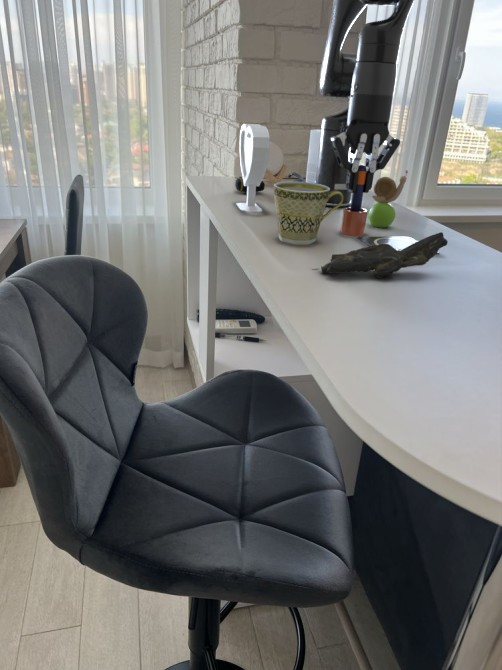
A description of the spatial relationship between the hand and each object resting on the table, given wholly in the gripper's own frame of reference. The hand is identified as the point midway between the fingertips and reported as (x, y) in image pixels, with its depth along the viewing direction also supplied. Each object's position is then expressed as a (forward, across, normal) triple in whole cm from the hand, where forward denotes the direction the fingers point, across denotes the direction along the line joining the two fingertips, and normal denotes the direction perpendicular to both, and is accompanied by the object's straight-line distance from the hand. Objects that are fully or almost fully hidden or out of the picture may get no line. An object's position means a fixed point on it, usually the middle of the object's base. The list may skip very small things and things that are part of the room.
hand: (357, 191), depth 97 cm
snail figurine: (+9, -9, -5) cm, 13 cm away
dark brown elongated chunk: (+8, +5, +23) cm, 25 cm away
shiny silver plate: (+8, -5, +9) cm, 13 cm away
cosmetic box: (+9, -13, -52) cm, 54 cm away
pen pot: (+8, 0, 0) cm, 8 cm away
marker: (+7, 0, 0) cm, 7 cm away
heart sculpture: (+9, +15, -23) cm, 29 cm away
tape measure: (+9, +11, -43) cm, 45 cm away
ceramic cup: (+9, +11, +4) cm, 15 cm away
